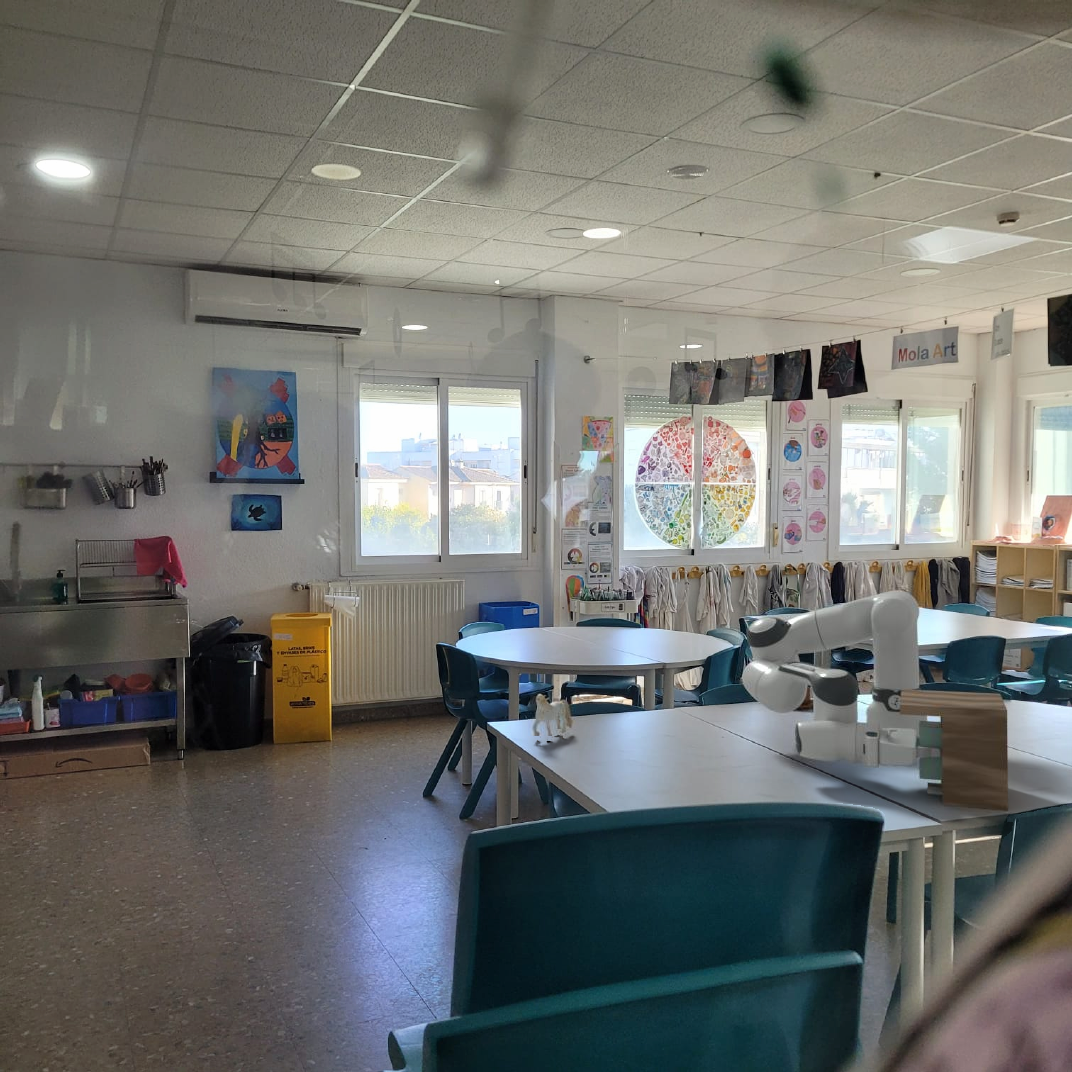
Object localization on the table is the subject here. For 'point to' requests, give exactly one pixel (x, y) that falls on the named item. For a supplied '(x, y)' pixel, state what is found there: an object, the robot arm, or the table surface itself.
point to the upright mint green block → (930, 738)
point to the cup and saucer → (806, 701)
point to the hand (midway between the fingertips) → (940, 748)
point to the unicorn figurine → (552, 714)
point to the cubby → (967, 745)
